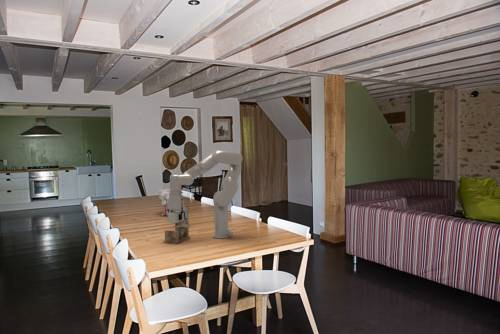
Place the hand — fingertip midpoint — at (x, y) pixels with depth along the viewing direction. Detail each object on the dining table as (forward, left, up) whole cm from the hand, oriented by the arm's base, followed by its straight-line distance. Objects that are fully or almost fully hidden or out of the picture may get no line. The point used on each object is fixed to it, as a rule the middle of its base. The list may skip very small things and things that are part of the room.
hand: (175, 219), depth 244 cm
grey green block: (0, 0, -1) cm, 1 cm away
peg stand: (0, 0, -14) cm, 14 cm away
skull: (+53, -75, -15) cm, 93 cm away
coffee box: (+18, -37, -15) cm, 44 cm away
